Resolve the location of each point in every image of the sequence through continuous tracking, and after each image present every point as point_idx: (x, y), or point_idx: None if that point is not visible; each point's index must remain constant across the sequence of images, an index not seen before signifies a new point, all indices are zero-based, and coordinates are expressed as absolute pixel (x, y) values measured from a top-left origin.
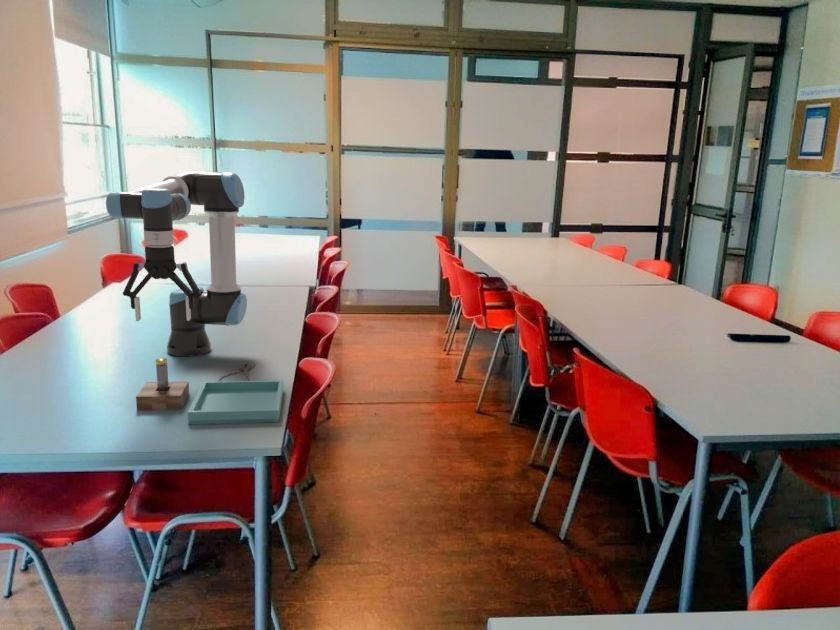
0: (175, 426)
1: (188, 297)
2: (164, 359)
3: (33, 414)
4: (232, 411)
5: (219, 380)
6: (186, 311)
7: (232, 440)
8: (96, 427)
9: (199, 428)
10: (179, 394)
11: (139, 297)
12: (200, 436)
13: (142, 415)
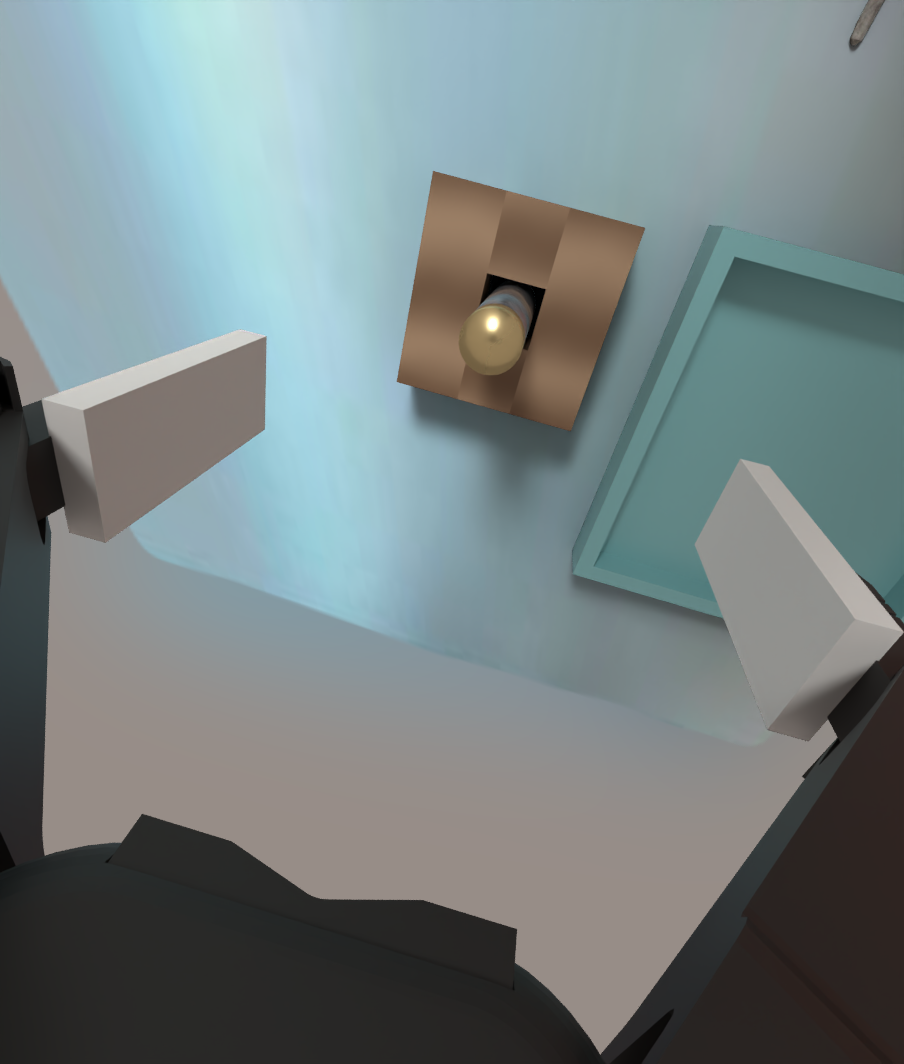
0: (531, 549)
1: (838, 695)
2: (508, 345)
3: (74, 290)
4: (720, 616)
5: (871, 22)
6: (720, 603)
7: (667, 683)
8: (305, 475)
9: (599, 587)
10: (569, 413)
11: (97, 404)
12: (590, 633)
13: (432, 426)
